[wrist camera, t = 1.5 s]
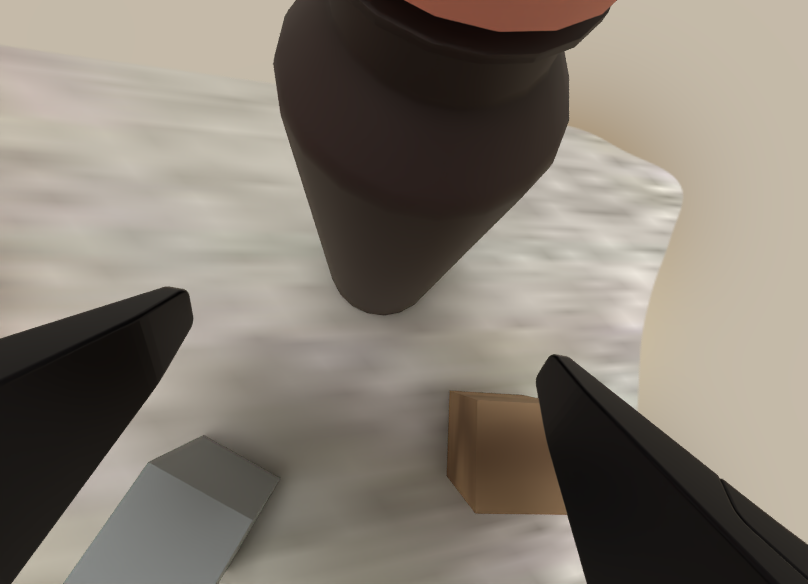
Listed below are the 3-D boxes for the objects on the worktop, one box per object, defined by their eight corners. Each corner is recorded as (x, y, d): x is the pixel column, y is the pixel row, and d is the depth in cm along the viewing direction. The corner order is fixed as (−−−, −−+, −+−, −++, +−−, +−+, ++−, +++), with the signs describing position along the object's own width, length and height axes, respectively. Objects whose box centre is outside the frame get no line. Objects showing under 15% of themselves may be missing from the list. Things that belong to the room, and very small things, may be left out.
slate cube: (226, 570, 17) (174, 654, 12) (144, 524, 17) (58, 591, 12) (280, 477, 18) (252, 520, 13) (204, 434, 18) (148, 462, 13)
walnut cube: (523, 477, 20) (575, 514, 15) (446, 475, 19) (475, 513, 15) (522, 395, 21) (570, 405, 16) (449, 390, 21) (477, 399, 16)
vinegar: (310, 255, 21) (-259, -988, 2) (390, 202, 23) (585, -738, 3) (372, 336, 20) (623, -75, 1) (450, 276, 22) (1110, -319, 3)
